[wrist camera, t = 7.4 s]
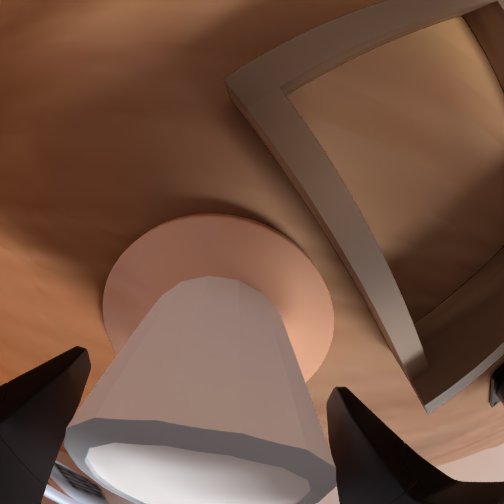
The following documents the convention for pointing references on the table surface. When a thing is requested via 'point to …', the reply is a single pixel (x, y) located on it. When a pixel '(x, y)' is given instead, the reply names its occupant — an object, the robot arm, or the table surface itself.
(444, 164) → the table surface
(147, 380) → the white cup
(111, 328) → the terracotta saucer
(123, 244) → the table surface
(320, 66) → the brown wooden square tray
